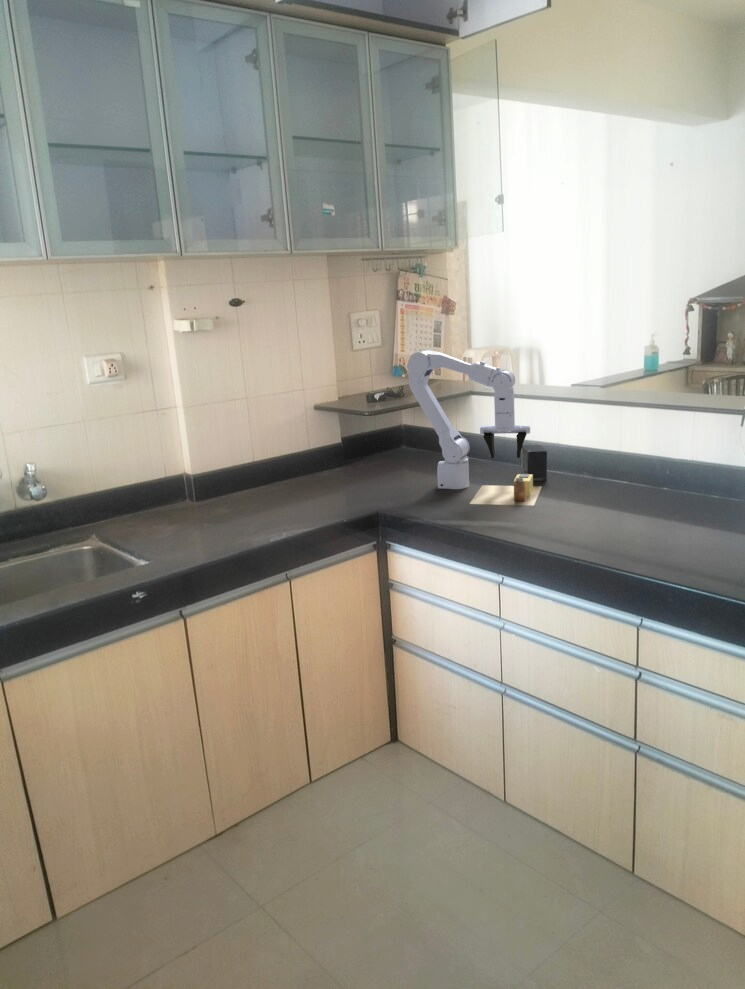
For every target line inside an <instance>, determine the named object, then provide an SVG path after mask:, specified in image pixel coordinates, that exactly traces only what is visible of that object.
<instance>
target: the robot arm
mask: <svg viewBox="0 0 745 989" xmlns="http://www.w3.org/2000/svg"><path fill="white" fill-rule="evenodd" d="M439 368H444V369H446V370H447V369H448V370H451V371H454V372H457V373H461V374H464V375H467V376H468V378H469V380H470V381H472V382H474V383H477V384H481V385H483V386H487V387H489V388H491V387H492V390H494V396H493V397H494V399H493V400H494V401H493V402H494V425H490V426H480V428H479V434H480V435H482V436H483V439H484V441H485V443H486V445H487V447H488V450H489V454H490V457H491V458H490V459H495V455H496V454H495V434H497V435H498V434H516V437H515V438H516V446H517V448H516V458H517V459H521V455H522V445H523V444H524V442H525V439H526V437H527V434H531V425H515V424H516V422H515V418H516V417H515V396H514V395H515V394H514V385H515V383H516V376H515V374H514V373H513V372H512V371H510V370H509V369H502V368H501V367H499V366H497V367H495V366H491V365H488V364H486V361H483V360H481V361H480V362H479V361H476V362H474V363H469V362H466V361H463V360H461V359H459V358H456V357H454V356H450V355H449V354H446V353H443V352H440V351H436V350H435V351H433V350H431V349H423V350H422V351H417V352H413V353H412V354H411V355H410V356H409V359H408V362H407V365H406V369H407V371H408V372H407V373H408V388H409V389H410V391H411V393H412V394H413V396H414V397H415V399H416V401H417V403H418V404H419V406H420V407H421V409H422V411H423V413H424V415H425V416H426V418H427V419H428V421H429V423H430V424H431V426H432V428H433V430H434V431H435V433H436V434H437V436H438V443H439V446H440V449H441V453H442V457H443V458H444V460H440V461H438V463H437V470H436V472H437V489H445V490H447V489H448V490H462V489H467V488H469V487H470V479H469V478H470V476H469V475H470V474H469V472H470V470H469V469H470V468H469V467H470V466H469V458H468V456H467V455H468V453H469V452H470V447H471V446H470V442H469V441H468V440H467V438H465V437H463V436H462V435H461V433H460V431H458V430H457V429H455V427H454V426H453V425H452V422H451V421H450V420H449V418H448V416H447V414H446V413H445V410H443V408H442V406H441V404H440V403H439V401H438V399H437V398H436V396H435V393H433V391H432V389H431V388H430V386H429V383H428V382H429V379H430V376H431V374H432V373H433V371H434V370H435V369H439ZM501 369H502V370H501Z"/></svg>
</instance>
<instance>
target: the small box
mask: <svg viewBox="0 0 745 989" xmlns="http://www.w3.org/2000/svg"><path fill="white" fill-rule="evenodd" d="M521 455H522V456H521V474H533V482H543V481H547V480H548V479H547V478H548V476H547V475H548V474H547V473H548V471H547V470H548V465H547V464H548V451H547V450H546V448H544V447H543V446H542V444H534V445H533V444H529V445H526V444H524V445H522V449H521Z"/></svg>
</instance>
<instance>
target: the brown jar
mask: <svg viewBox="0 0 745 989" xmlns="http://www.w3.org/2000/svg"><path fill="white" fill-rule="evenodd" d="M515 478H516V477H515ZM513 486H514V501H515V502H524V501H525V481H523V478H516V481H514V480H513Z"/></svg>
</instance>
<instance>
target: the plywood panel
mask: <svg viewBox="0 0 745 989" xmlns="http://www.w3.org/2000/svg"><path fill="white" fill-rule="evenodd" d="M542 487H543V486H542V485H541V486H540V485H539V486H535V485H533V490H532V492H531V495H530V496H525V501H524V502H515V501H514V485H489V484H487V485H486V484H485V485H484V484H483V485H481V487H480V488H479V490H477V492H476V493H475V495H474V496H473V498H472V499H471V500H470V502H469V505H488V506H489V505H491V506H492V505H494V506H496V505H497V506H499V505H500V506H528V507H531V506H532V507H534V506H535V504H536V502H537V500H538V498H539V494H540V492H541V490H542Z"/></svg>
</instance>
